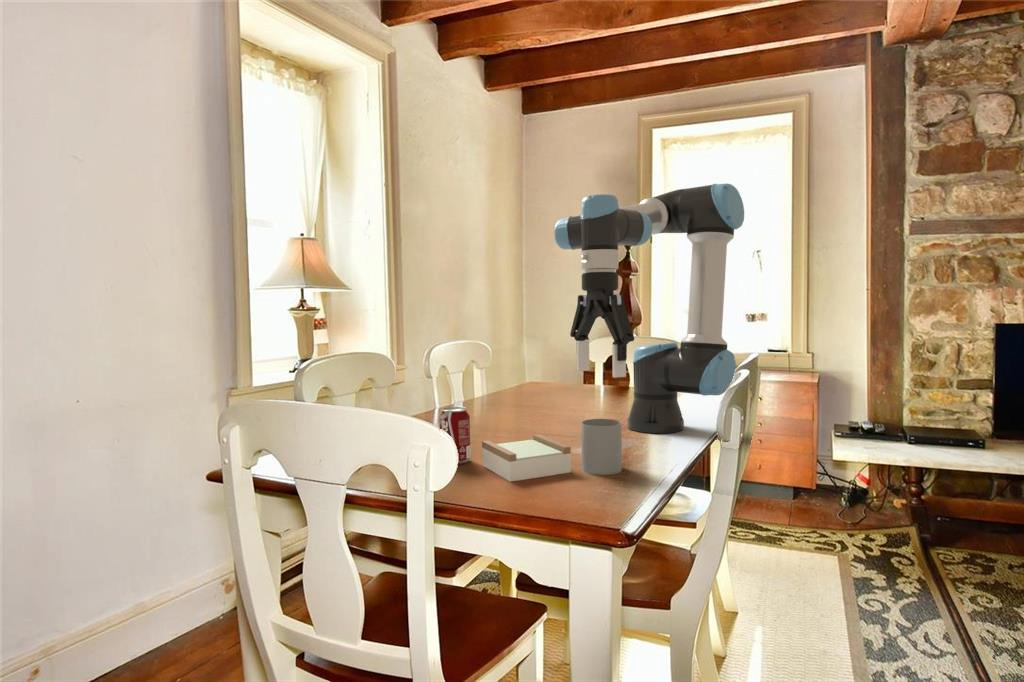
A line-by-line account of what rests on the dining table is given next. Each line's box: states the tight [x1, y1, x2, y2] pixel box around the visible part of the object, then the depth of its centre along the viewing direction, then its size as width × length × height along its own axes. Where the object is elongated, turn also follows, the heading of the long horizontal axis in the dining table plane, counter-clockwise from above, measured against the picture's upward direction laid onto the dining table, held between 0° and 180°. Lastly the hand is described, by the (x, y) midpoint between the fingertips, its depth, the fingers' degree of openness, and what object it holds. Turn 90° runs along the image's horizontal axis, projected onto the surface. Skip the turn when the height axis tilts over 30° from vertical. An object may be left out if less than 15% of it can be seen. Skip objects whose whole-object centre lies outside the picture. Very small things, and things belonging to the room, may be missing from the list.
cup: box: [580, 418, 623, 476], centre depth 135 cm, size 8×8×10 cm
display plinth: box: [481, 434, 572, 483], centre depth 137 cm, size 14×14×5 cm
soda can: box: [438, 406, 472, 465], centre depth 143 cm, size 7×7×12 cm
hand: (600, 373), depth 134 cm, fingers open, 13 cm apart
